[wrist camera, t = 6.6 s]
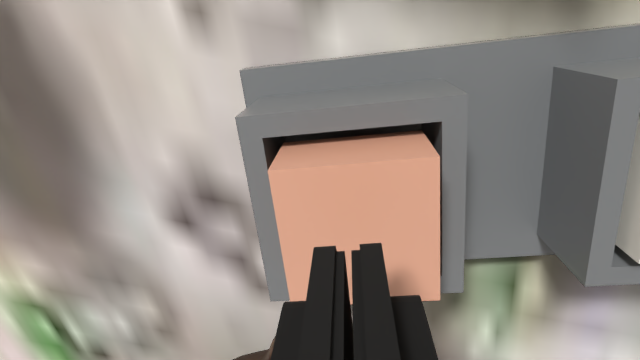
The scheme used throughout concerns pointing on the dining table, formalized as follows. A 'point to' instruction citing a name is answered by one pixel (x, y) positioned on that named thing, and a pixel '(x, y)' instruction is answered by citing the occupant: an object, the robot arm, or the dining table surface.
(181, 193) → the dining table surface
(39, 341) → the dining table surface
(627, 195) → the key cream
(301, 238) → the key terracotta
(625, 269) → the key panel
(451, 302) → the dining table surface
